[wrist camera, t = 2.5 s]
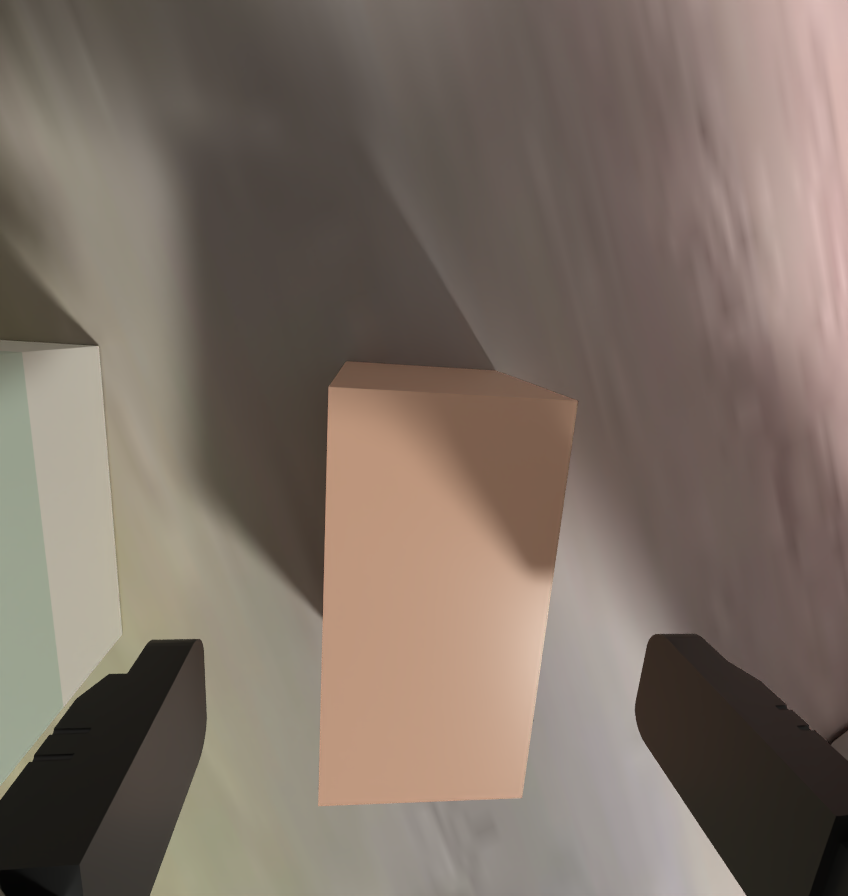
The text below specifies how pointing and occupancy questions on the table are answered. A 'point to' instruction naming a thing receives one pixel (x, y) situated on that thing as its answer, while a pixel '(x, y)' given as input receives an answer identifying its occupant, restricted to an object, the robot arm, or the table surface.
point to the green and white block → (52, 536)
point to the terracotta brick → (436, 579)
